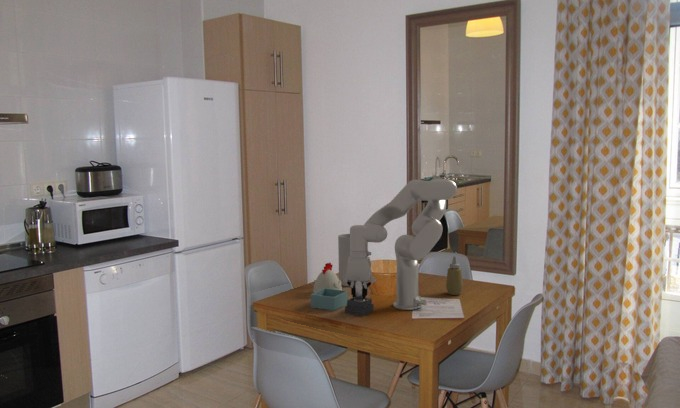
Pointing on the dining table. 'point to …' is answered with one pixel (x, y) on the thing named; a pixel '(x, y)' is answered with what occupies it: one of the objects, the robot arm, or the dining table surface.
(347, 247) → the cylinder vase
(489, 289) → the dining table surface
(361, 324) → the dining table surface
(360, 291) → the pepper mill
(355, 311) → the square recessed block
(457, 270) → the squeeze bottle
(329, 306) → the bin
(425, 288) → the dining table surface
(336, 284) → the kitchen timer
